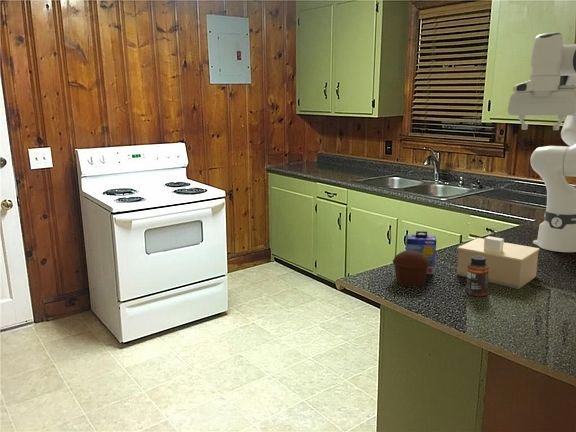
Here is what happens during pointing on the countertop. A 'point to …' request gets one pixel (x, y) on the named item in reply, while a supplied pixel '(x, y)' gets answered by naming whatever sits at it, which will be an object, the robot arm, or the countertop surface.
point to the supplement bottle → (477, 276)
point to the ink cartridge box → (423, 247)
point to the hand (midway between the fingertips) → (539, 129)
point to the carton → (502, 268)
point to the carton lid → (499, 248)
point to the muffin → (411, 268)
